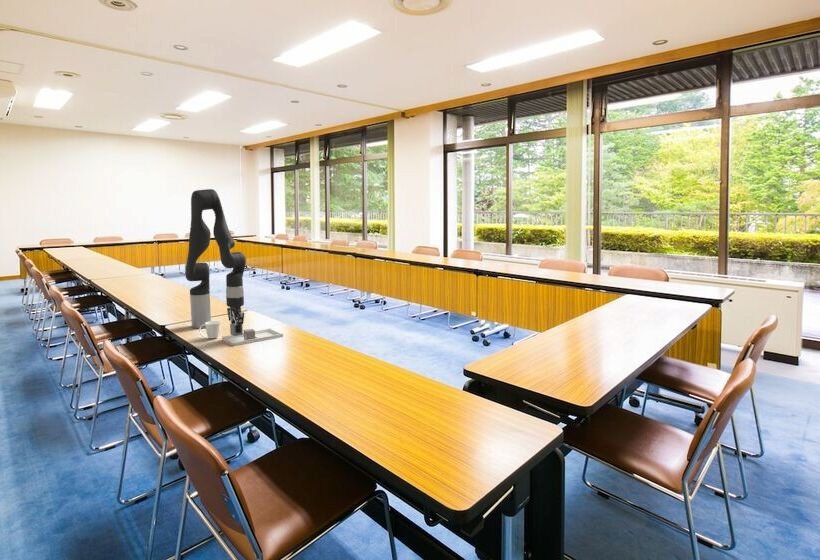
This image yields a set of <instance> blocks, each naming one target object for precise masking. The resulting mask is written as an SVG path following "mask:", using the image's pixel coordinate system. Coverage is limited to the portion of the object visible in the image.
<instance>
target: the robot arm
mask: <svg viewBox="0 0 820 560" xmlns="http://www.w3.org/2000/svg"><path fill="white" fill-rule="evenodd" d="M190 197H191V198H190V212H191V213H190V215H191V217H190V228H189V237H188V252H187V259H186V264H185V270H184V271H185V273H184V274H185V279H186V280H187V281H188V282H200V283H199V284H198V285H196V286H194V287H193V286H192V287H191V288H190V289H189V299H190V317H191V319H190V320H191V328H192V329H200V326H201V325H202V327H201V329H206V327H205V326H204V325H203V324H205V322H209V321H212V315H211V314H212V313H211V292H210V286H211V285H210V275H211V274H210V265H209V263H208V262H197V260H199V258H200V257H201V256H202V255H203V254H204V253H205V252H206V251H207V249H208V248H209V247H210V243H211V235H212V234H213V236H214V237H213V238H214V240H215V242H216V244H217V246H218V249H219V250H218V251H219V256H220V263H221V264H222V266H223V267H224V268H226V269H232V271H230V272H229V273H227V274H226V277H225V278H226V279H225V281H226V282H225V284H226V289H225V290H226V291H225V298H226V307H227V308H226V311H227V317H228V321H229V322H230V324H233V323H235V324H236V333H240V332H241V324H242V325H243V324H244V322H245V312H242V307H243V306H244V304H245V298H244V297H245V294H244V285H243V284H244V283H243V282H244V281H243V278H244V277H243V276H244V272H245V269H246V265H247V264H246V263H247V261H246V260H247V259H246V256H245V253H243V252H241V251H234V252H233V251H232V252H231V249H233V248H234V247H235V245H236V244H235V240H234V238H233V236H232V233H231V231H230V229H229V227H228V224H227V221H226V216H225V213H224V209H223V206H222V203H221V199H220V196H219V194H218V193H217V191H216V190H215V189H213V188H209V189H208V188H207V189H196V190H193V192H192V193H191V196H190ZM208 210H212V211H213V213H214V216H215V218H214V226H213V229H212V230H213V233H211V229H210V228H209V226H208V225H207V224H206V222H205V221H204V219H203V212H204V211H208Z"/></svg>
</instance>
